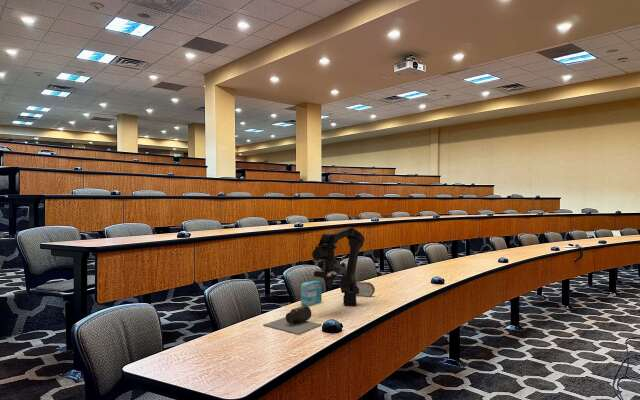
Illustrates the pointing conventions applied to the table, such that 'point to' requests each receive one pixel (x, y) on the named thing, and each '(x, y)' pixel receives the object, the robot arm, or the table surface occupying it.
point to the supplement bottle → (298, 315)
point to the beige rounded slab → (365, 289)
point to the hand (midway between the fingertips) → (329, 288)
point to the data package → (311, 293)
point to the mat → (292, 326)
